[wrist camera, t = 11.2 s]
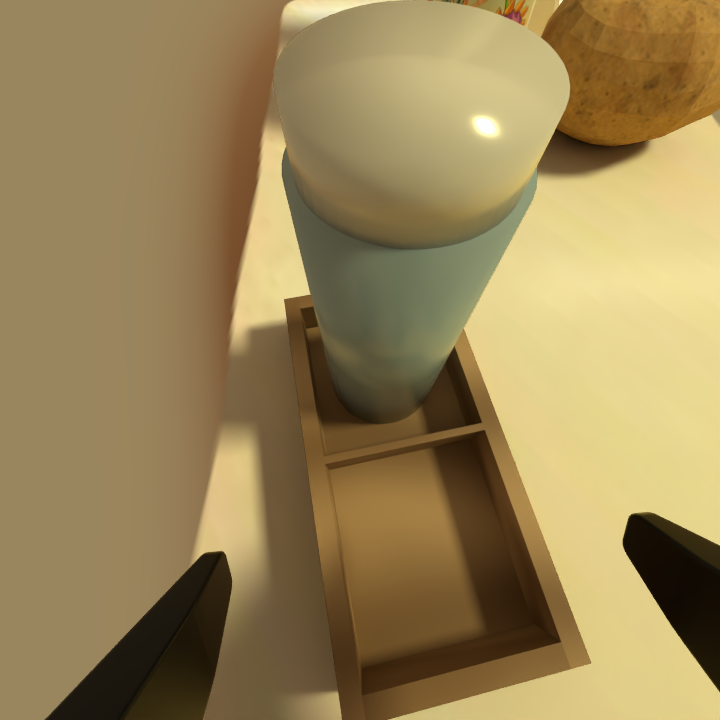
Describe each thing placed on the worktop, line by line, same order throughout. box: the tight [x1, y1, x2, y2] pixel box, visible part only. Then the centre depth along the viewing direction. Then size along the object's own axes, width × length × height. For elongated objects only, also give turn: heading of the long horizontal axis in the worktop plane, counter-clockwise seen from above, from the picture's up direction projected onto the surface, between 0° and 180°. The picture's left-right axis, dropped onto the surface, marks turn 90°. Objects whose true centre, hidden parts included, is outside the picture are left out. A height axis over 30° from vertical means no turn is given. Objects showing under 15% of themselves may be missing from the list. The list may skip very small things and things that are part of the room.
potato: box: [541, 0, 720, 146], centre depth 22 cm, size 10×14×8 cm
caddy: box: [284, 295, 591, 720], centre depth 15 cm, size 16×8×3 cm, turn 12°
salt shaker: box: [273, 0, 570, 424], centre depth 11 cm, size 5×5×13 cm
